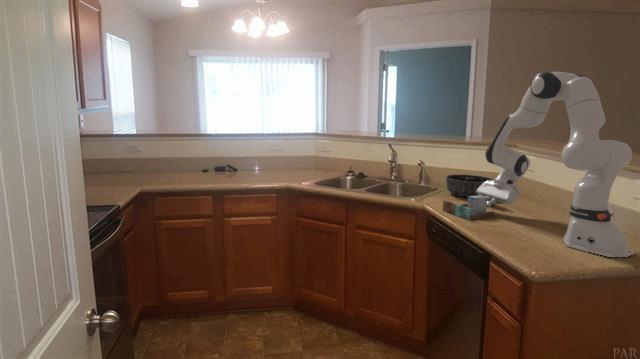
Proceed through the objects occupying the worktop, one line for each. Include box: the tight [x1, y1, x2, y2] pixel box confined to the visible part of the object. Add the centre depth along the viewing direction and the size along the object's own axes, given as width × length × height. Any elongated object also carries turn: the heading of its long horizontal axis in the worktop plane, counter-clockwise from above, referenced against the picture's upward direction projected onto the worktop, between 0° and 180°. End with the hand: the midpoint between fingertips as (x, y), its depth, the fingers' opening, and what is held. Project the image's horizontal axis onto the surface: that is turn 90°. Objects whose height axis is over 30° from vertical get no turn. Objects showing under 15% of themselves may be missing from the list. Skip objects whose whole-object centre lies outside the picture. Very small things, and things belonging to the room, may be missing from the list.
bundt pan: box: [445, 174, 495, 198], centre depth 241 cm, size 26×26×10 cm
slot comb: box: [442, 199, 495, 221], centre depth 200 cm, size 18×15×5 cm
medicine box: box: [466, 195, 488, 214], centre depth 198 cm, size 8×4×9 cm, turn 113°
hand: (486, 205), depth 199 cm, fingers closed, pressing on medicine box
